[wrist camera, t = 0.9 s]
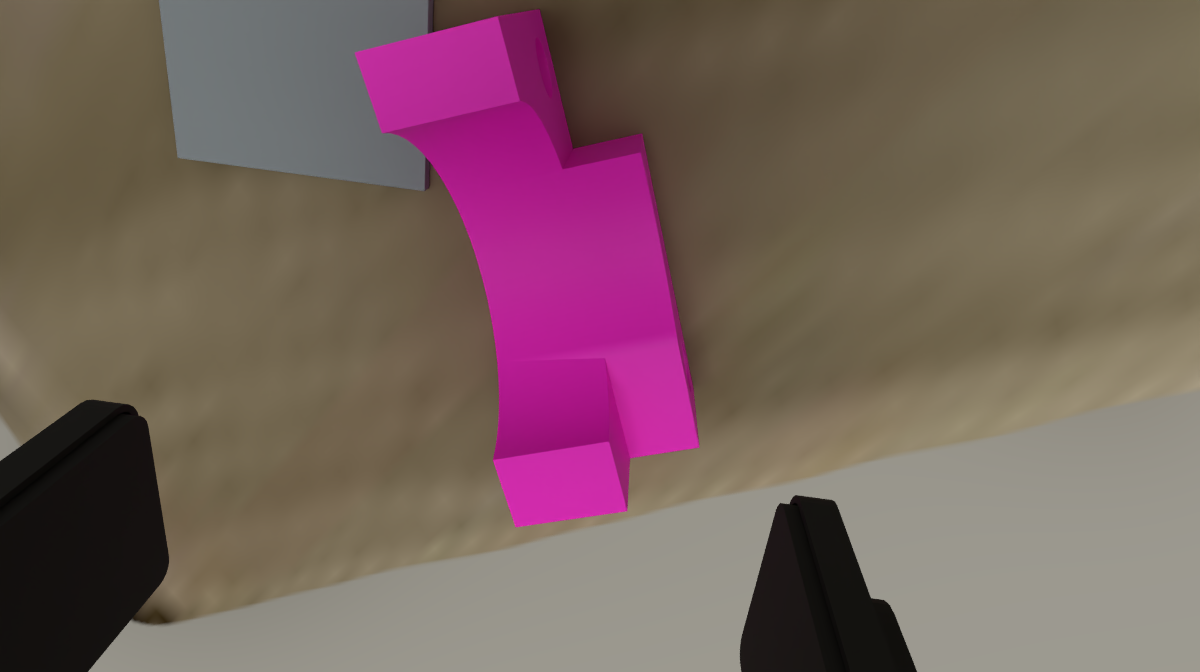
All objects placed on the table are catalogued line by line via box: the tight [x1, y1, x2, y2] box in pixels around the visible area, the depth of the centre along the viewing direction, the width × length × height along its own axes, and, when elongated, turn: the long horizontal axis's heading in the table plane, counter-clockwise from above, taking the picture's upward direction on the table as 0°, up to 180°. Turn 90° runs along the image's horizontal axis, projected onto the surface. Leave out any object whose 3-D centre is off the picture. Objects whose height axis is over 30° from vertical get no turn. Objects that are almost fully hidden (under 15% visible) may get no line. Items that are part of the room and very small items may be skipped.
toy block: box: [355, 9, 699, 527], centre depth 25 cm, size 15×6×8 cm, turn 13°
